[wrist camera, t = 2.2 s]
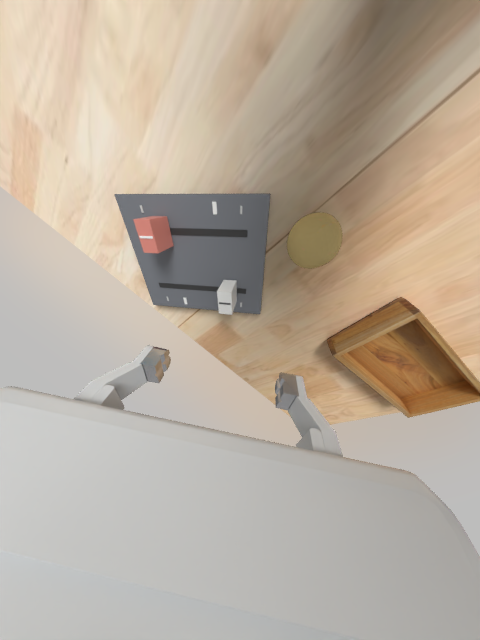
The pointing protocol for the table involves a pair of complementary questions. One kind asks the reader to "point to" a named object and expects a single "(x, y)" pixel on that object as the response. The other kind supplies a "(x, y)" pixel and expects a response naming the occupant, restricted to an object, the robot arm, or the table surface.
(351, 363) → the tray
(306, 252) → the light bulb
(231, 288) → the grey fader
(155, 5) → the table surface
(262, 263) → the console
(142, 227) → the red fader
